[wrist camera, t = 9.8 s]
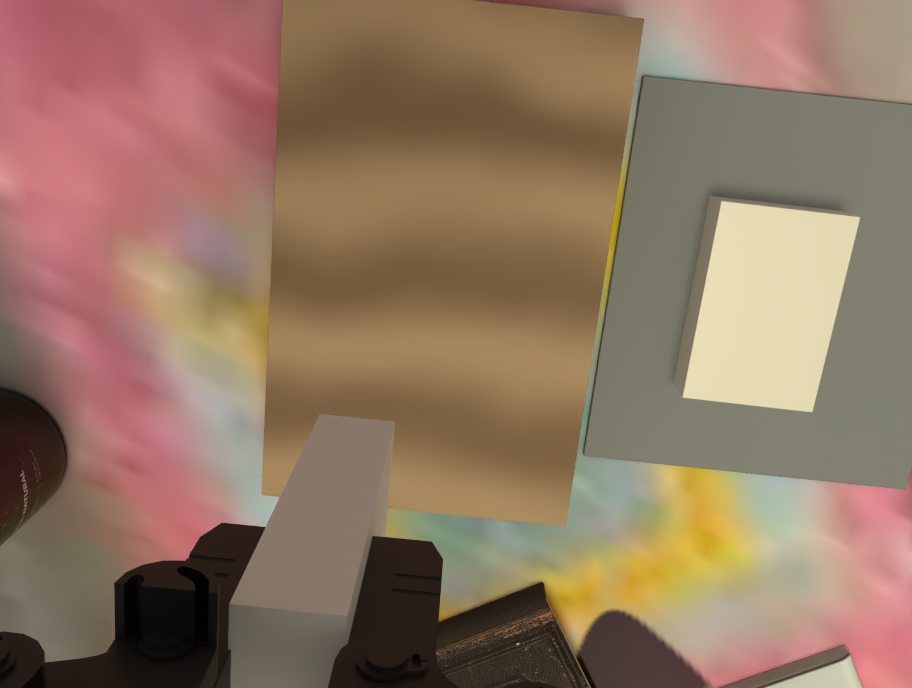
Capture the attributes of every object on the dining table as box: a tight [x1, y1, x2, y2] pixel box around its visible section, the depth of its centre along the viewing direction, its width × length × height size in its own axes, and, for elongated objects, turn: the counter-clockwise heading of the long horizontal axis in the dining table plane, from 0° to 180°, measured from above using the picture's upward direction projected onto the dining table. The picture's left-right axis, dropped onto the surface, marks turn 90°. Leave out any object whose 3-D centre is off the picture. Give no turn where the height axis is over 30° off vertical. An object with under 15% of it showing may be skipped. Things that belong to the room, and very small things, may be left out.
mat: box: [583, 76, 912, 490], centre depth 41 cm, size 18×16×1 cm
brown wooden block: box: [262, 0, 644, 527], centre depth 39 cm, size 22×14×4 cm, turn 174°
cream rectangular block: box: [673, 196, 860, 412], centre depth 40 cm, size 9×6×2 cm, turn 174°
